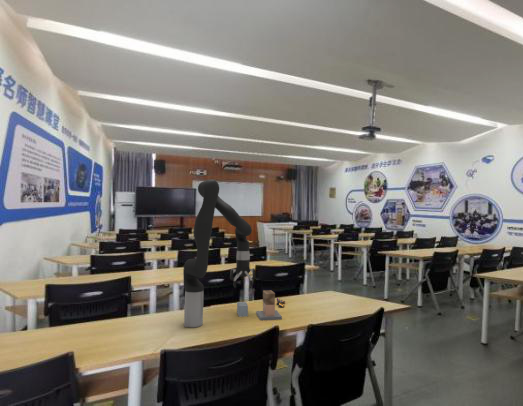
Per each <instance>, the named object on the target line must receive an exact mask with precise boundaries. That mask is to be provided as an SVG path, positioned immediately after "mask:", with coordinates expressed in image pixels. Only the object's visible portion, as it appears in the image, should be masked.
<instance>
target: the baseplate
mask: <svg viewBox="0 0 523 406" xmlns="http://www.w3.org/2000/svg"><path fill="white" fill-rule="evenodd" d="M255 314H256V316H257V317H258V320H259V321H275V320H276V321H277V320H278V321H279V320H282V319H283V317H282V314H280V312H279V311H278V310H276V304H275V305H266V304H265V303H264V302H263V301H262V310H256V311H255Z"/></svg>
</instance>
